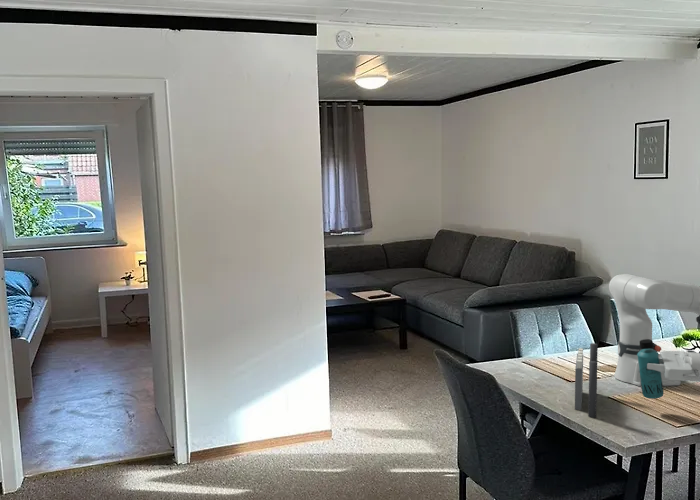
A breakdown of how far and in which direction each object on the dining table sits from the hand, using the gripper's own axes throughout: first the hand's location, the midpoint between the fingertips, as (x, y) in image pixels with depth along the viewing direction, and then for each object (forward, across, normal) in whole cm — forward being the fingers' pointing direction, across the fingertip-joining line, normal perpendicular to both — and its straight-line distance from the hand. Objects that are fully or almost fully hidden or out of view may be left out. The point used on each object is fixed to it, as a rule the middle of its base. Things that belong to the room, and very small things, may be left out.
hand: (646, 363), depth 200 cm
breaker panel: (+20, +7, -17) cm, 27 cm away
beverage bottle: (-3, +3, -13) cm, 13 cm away
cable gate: (+16, +4, -17) cm, 23 cm away
